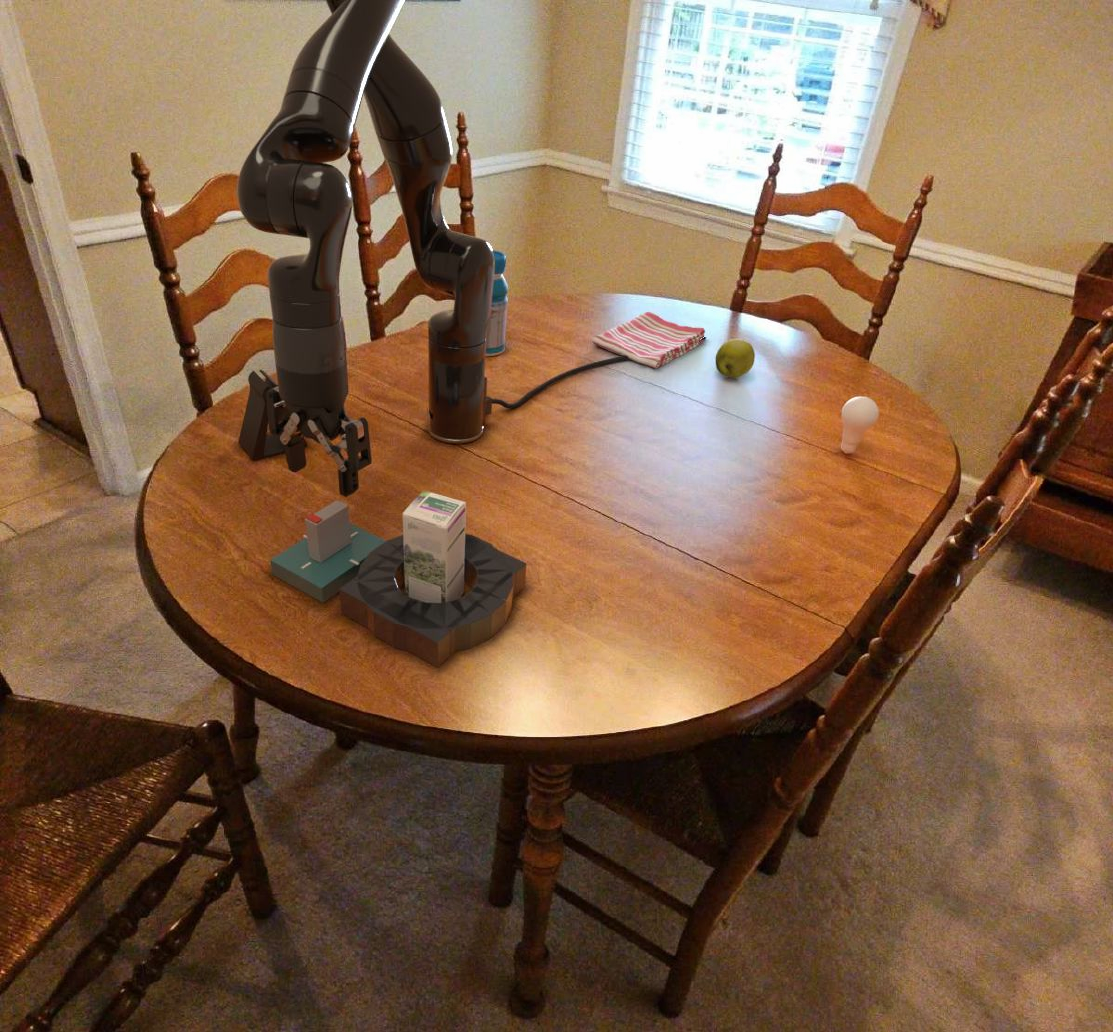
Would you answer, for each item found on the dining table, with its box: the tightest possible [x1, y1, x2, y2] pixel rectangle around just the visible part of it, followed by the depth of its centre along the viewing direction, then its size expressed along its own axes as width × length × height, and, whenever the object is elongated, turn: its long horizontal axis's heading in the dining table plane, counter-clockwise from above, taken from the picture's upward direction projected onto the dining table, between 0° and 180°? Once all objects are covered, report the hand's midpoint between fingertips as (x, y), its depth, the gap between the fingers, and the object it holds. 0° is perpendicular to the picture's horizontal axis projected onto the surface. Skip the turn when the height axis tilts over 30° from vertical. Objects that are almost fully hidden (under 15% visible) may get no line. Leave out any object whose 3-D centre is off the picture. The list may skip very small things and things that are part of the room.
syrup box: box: [402, 490, 467, 603], centre depth 93 cm, size 6×6×14 cm
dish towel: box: [591, 311, 706, 370], centre depth 172 cm, size 17×23×4 cm
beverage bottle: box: [485, 249, 509, 357], centre depth 157 cm, size 8×8×20 cm
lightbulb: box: [840, 396, 880, 455], centre depth 136 cm, size 6×6×11 cm
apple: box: [715, 338, 756, 379], centre depth 161 cm, size 8×9×8 cm
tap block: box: [269, 522, 387, 604], centre depth 100 cm, size 12×10×3 cm
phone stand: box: [238, 369, 309, 462], centre depth 120 cm, size 9×6×12 cm, turn 128°
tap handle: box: [304, 499, 351, 563], centre depth 98 cm, size 6×2×6 cm, turn 148°
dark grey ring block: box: [338, 533, 527, 668], centre depth 96 cm, size 19×19×4 cm
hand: (322, 481), depth 93 cm, fingers open, 8 cm apart
